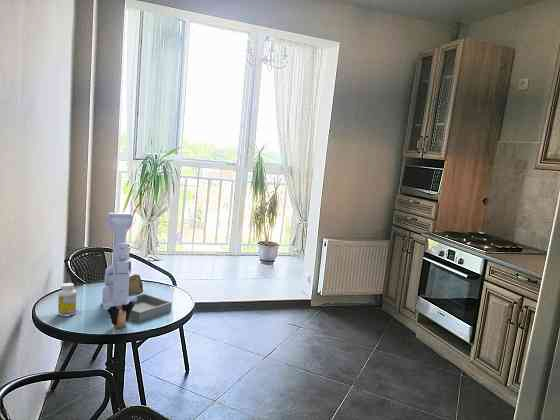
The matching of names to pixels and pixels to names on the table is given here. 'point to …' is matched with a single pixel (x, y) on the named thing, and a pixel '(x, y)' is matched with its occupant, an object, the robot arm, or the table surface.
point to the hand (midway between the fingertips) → (119, 322)
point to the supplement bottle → (67, 299)
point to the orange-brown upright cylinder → (121, 319)
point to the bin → (148, 307)
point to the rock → (135, 284)
